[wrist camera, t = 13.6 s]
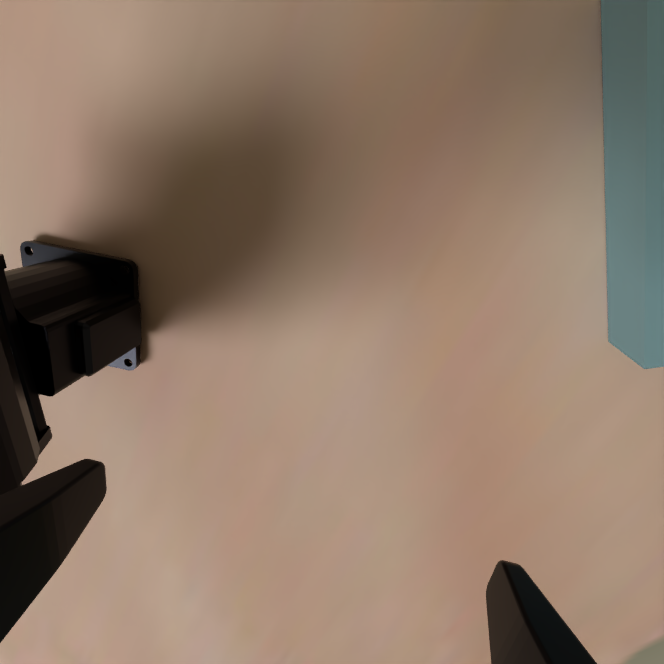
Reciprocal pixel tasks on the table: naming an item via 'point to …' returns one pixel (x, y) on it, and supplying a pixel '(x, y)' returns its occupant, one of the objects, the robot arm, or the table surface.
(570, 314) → the table surface
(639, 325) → the plinth
